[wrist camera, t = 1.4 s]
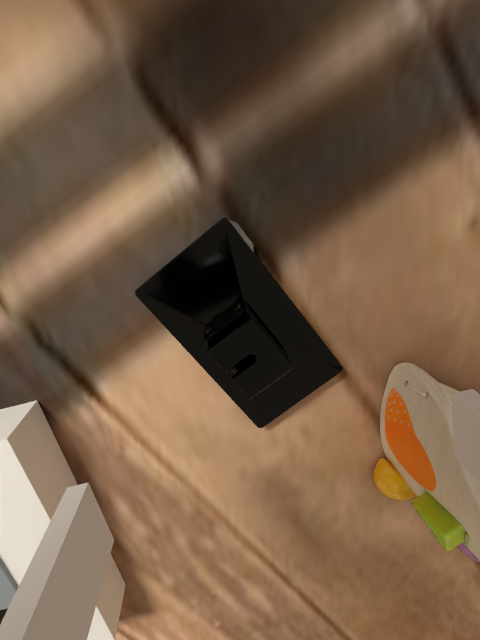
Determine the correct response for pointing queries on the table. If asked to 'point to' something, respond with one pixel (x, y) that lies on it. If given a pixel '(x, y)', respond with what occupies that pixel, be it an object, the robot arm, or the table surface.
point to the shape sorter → (427, 458)
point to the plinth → (39, 508)
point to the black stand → (239, 324)
